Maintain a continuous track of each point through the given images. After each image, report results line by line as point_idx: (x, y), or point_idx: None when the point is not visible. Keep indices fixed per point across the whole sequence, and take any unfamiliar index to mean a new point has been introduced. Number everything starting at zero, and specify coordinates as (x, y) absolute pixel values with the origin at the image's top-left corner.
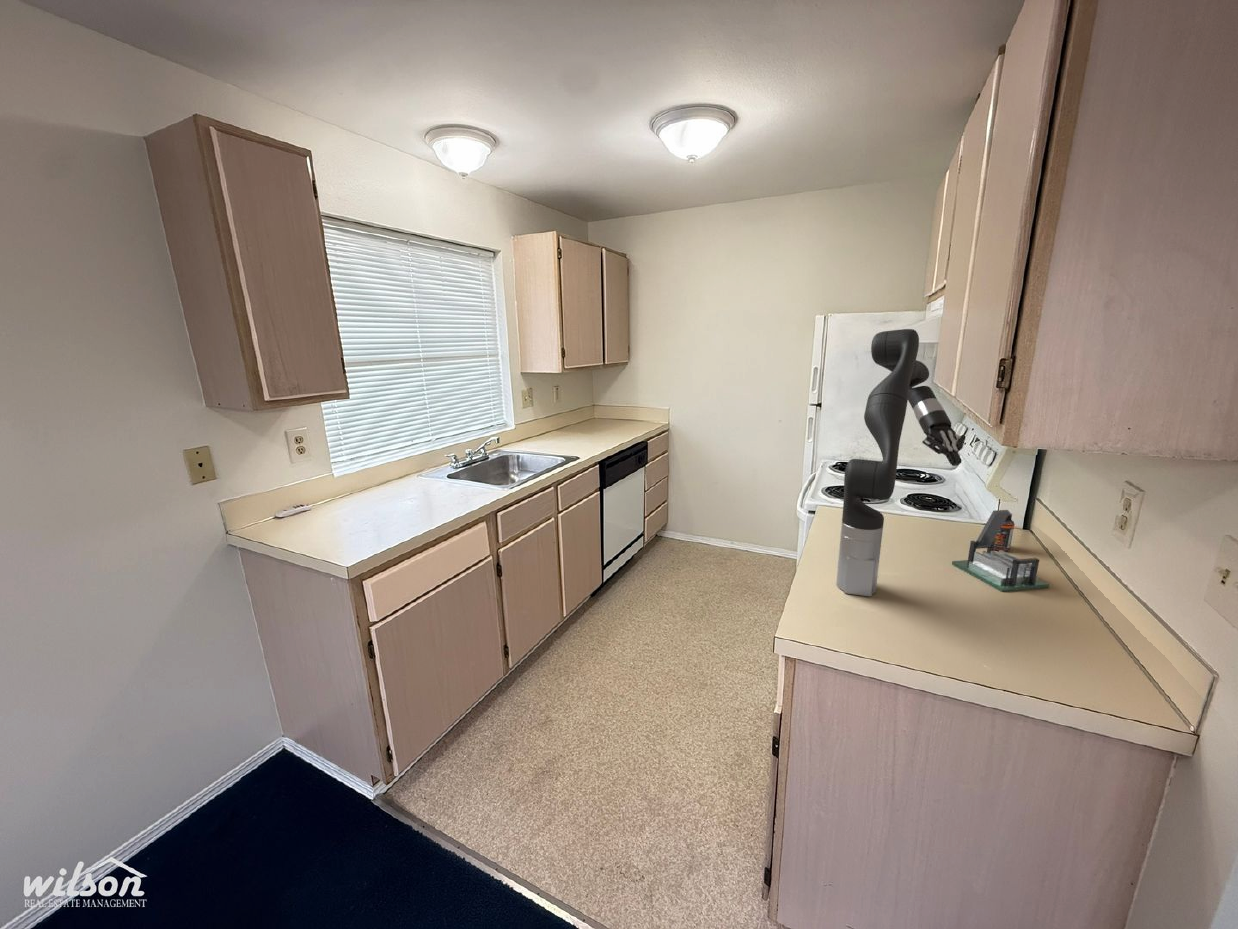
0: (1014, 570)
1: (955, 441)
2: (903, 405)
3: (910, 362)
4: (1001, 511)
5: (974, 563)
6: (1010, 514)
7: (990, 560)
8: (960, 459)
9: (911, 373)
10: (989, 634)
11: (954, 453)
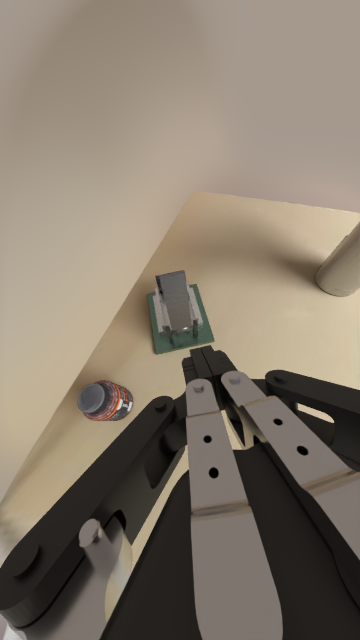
0: None
1: (187, 426)
2: None
3: None
4: (172, 274)
5: (200, 318)
6: (87, 386)
7: (192, 298)
8: (191, 353)
9: None
10: (241, 233)
11: (212, 367)
